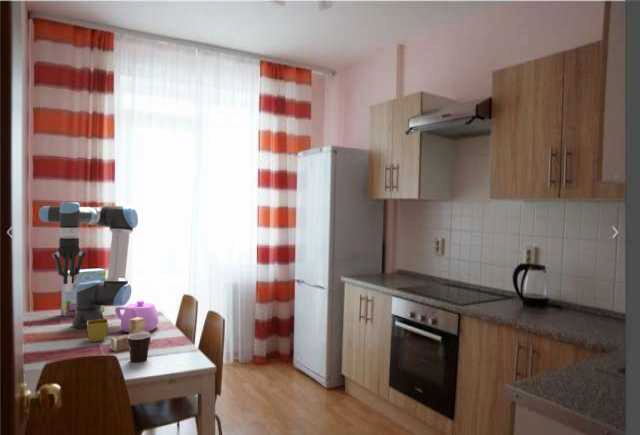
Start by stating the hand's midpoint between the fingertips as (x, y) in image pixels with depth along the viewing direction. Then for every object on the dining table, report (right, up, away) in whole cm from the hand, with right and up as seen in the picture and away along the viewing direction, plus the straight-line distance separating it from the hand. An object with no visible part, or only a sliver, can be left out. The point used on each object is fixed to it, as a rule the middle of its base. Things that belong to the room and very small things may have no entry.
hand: (68, 291), depth 186 cm
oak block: (+22, -27, +19) cm, 39 cm away
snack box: (-30, -25, +66) cm, 77 cm away
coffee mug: (+35, -28, -10) cm, 45 cm away
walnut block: (+18, -24, +3) cm, 31 cm away
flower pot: (+4, -27, +16) cm, 31 cm away
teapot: (+17, -27, +35) cm, 47 cm away
